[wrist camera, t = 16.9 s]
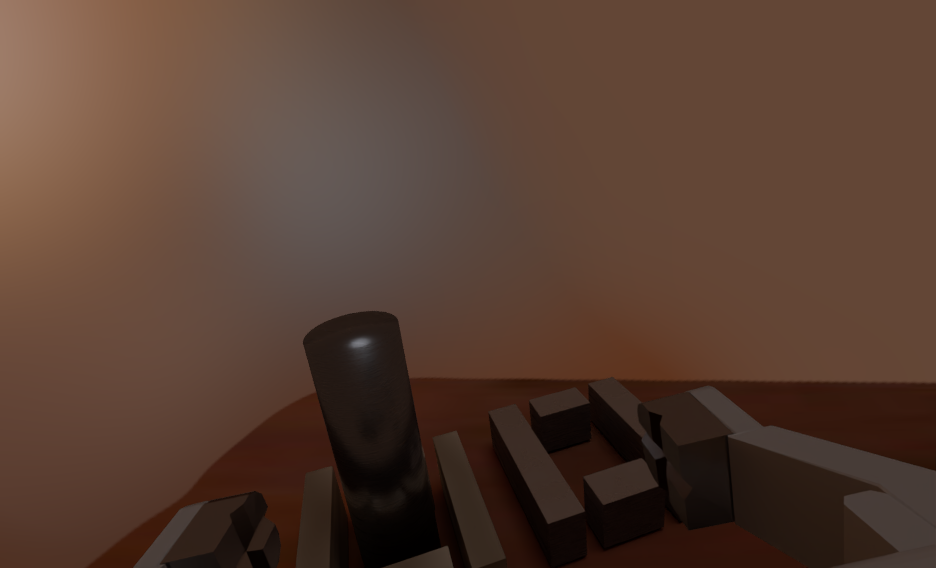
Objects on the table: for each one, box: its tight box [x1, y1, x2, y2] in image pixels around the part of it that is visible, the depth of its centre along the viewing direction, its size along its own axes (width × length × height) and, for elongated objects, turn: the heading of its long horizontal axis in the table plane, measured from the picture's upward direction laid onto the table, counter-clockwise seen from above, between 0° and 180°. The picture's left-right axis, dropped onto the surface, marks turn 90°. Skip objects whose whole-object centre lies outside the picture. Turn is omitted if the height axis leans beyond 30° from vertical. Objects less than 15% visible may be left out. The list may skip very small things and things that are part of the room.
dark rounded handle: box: [303, 311, 441, 568], centre depth 21 cm, size 4×4×14 cm
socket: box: [488, 377, 681, 567], centre depth 27 cm, size 10×10×3 cm
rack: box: [296, 431, 507, 568], centre depth 23 cm, size 9×9×4 cm
